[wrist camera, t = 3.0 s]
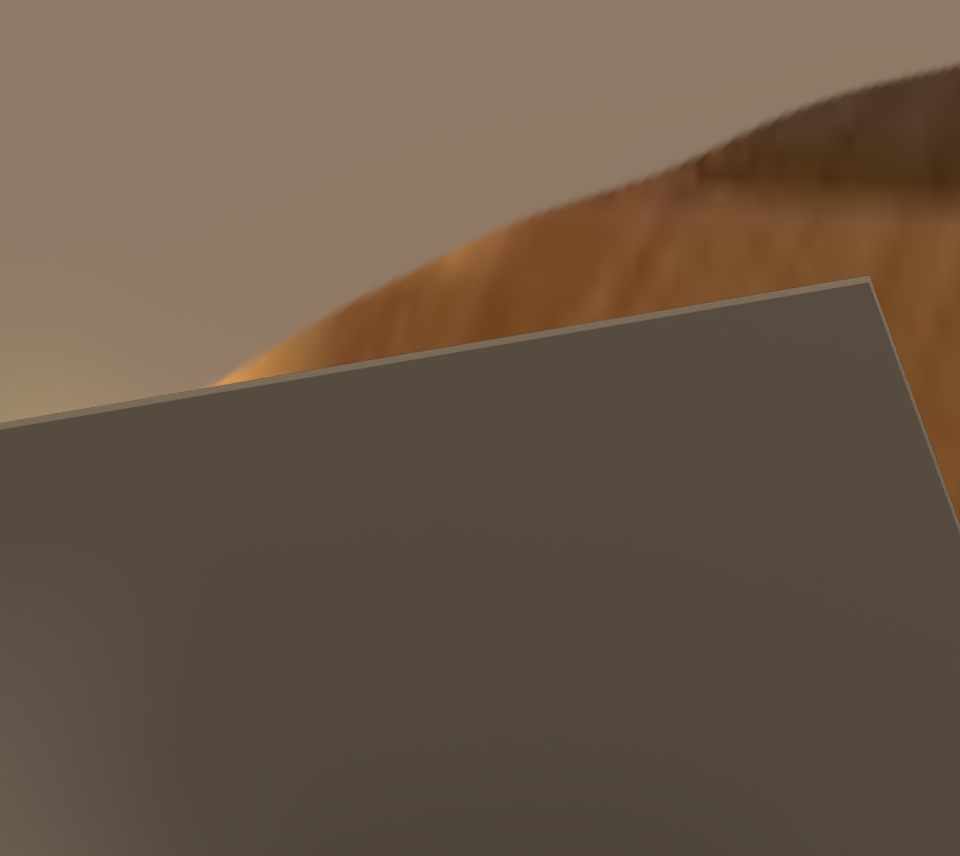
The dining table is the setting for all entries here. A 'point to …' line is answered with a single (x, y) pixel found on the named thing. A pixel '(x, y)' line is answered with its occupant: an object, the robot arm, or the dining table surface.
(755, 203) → the dining table surface
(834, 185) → the dining table surface
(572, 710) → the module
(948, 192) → the dining table surface
